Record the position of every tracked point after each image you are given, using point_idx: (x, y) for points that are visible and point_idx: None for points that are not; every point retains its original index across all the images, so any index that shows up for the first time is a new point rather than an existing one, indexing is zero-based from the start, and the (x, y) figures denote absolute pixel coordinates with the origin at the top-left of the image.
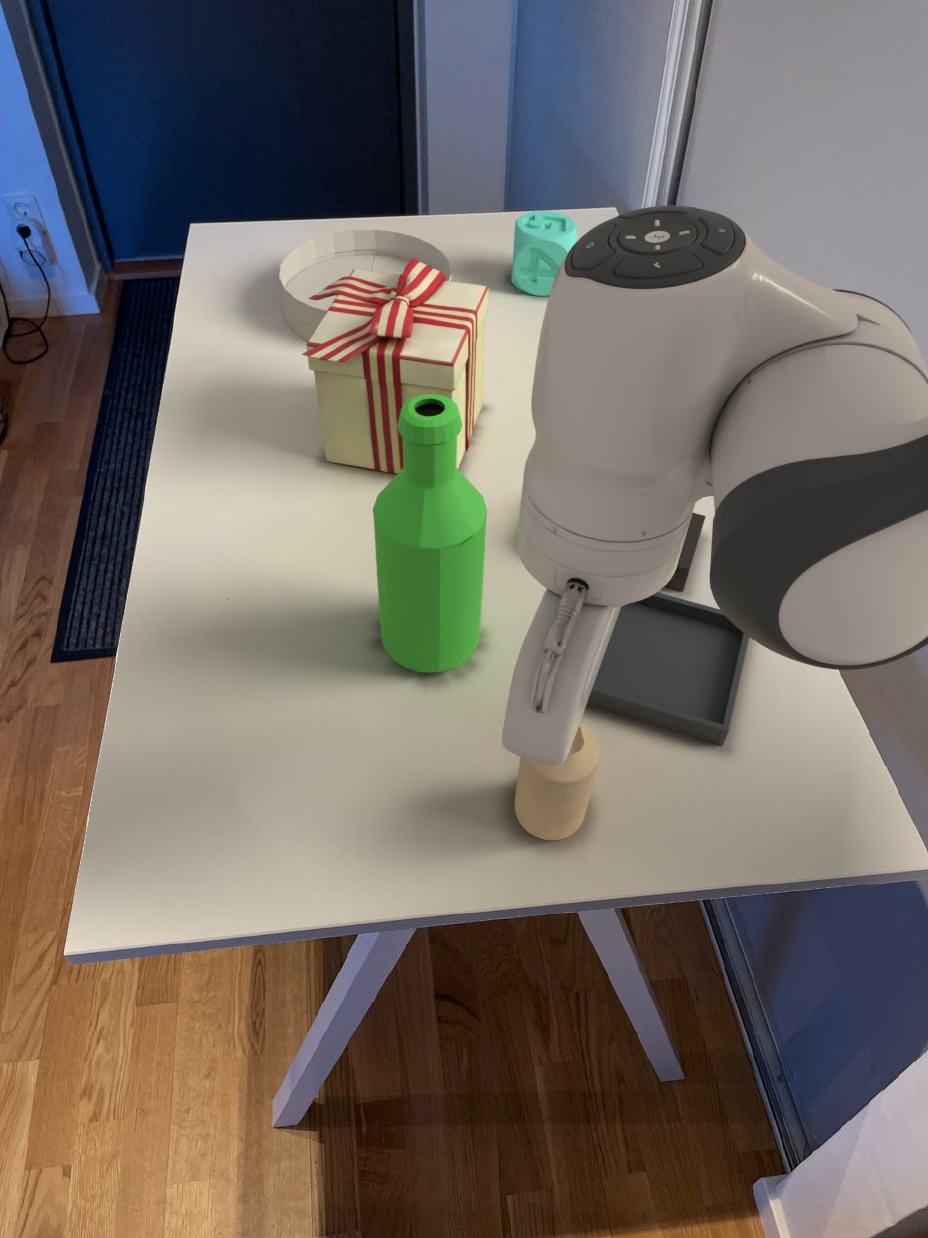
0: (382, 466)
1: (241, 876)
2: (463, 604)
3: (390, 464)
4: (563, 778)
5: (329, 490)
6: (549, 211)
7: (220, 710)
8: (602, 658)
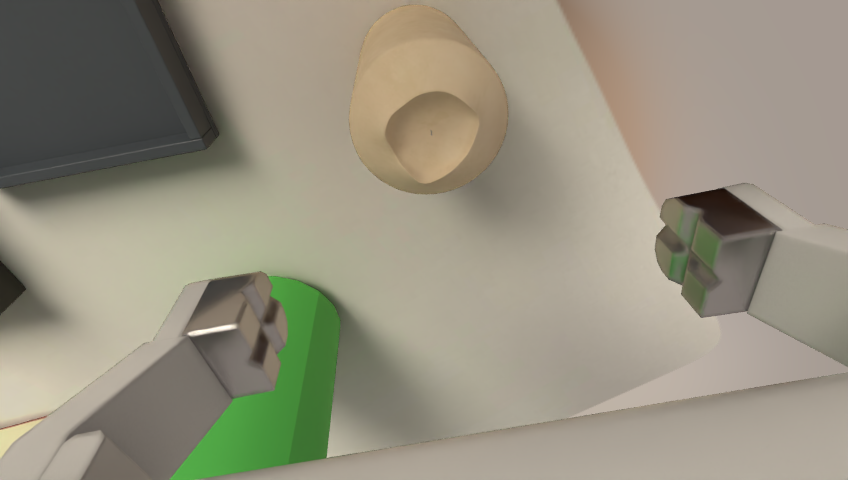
0: None
1: (636, 296)
2: None
3: None
4: (498, 87)
5: None
6: None
7: (483, 396)
8: (807, 476)
